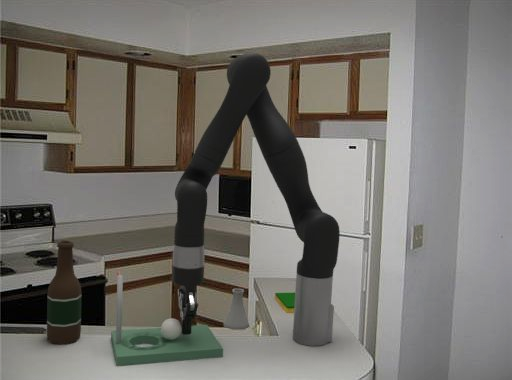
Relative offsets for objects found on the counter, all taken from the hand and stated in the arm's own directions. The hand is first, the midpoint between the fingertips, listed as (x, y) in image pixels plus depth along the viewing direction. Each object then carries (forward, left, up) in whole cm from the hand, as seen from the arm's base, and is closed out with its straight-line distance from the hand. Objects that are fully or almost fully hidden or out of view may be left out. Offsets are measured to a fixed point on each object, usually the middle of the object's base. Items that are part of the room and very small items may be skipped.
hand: (186, 333), depth 135 cm
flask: (-16, -11, -3) cm, 20 cm away
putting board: (+5, 0, -3) cm, 6 cm away
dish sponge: (-38, -25, -4) cm, 46 cm away
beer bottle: (+28, -10, -3) cm, 30 cm away
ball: (+4, 0, +1) cm, 4 cm away
